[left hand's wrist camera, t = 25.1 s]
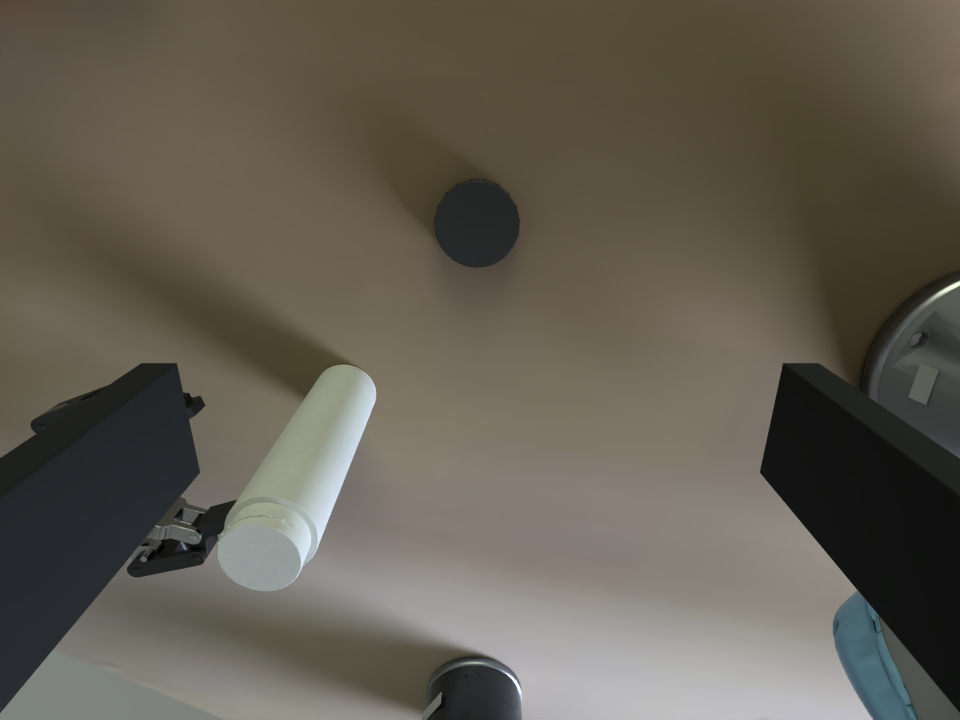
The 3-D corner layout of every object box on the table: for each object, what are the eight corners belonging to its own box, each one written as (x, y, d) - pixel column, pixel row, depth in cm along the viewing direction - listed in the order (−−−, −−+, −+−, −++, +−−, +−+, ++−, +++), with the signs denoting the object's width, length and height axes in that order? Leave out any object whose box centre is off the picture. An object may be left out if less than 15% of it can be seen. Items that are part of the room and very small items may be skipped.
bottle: (338, 352, 44) (243, 500, 26) (388, 389, 45) (328, 554, 27) (303, 395, 45) (190, 562, 27) (352, 429, 46) (273, 612, 28)
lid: (447, 270, 41) (446, 277, 39) (426, 189, 39) (423, 192, 37) (525, 252, 41) (528, 257, 39) (508, 169, 39) (509, 170, 37)
